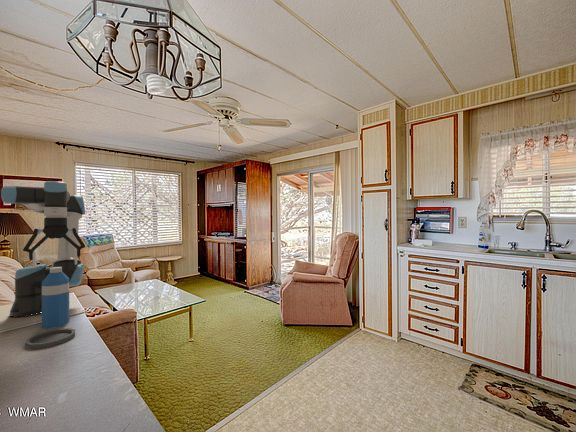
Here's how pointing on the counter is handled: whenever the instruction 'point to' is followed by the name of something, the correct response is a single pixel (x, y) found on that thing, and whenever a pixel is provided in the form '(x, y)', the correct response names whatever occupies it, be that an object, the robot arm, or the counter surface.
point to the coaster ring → (50, 338)
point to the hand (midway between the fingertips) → (56, 265)
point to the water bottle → (55, 299)
